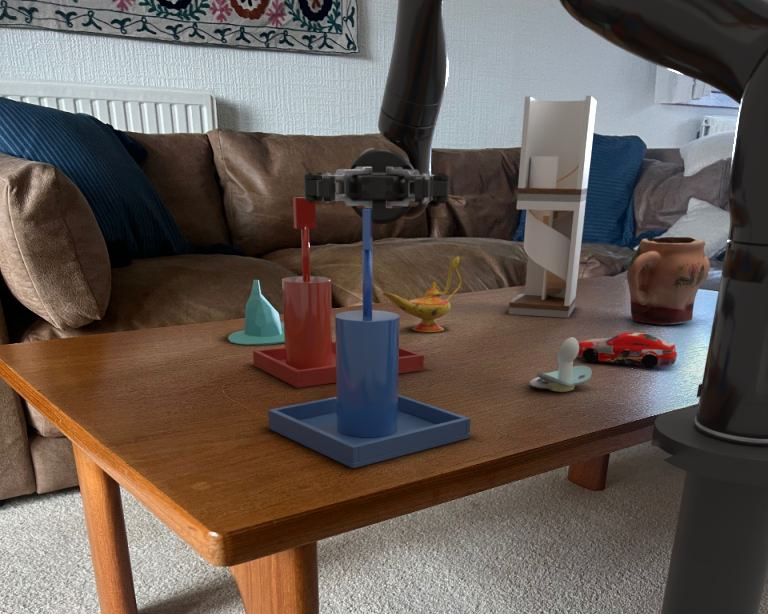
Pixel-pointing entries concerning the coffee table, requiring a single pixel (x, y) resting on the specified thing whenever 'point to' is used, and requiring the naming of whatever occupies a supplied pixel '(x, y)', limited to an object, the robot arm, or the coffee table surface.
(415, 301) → the magic lamp
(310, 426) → the blue tray
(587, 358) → the race car
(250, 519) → the coffee table surface
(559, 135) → the display case
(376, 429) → the blue pot
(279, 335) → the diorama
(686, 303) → the decorative planter
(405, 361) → the red tray
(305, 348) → the red spoon pot
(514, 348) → the coffee table surface
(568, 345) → the pacifier
